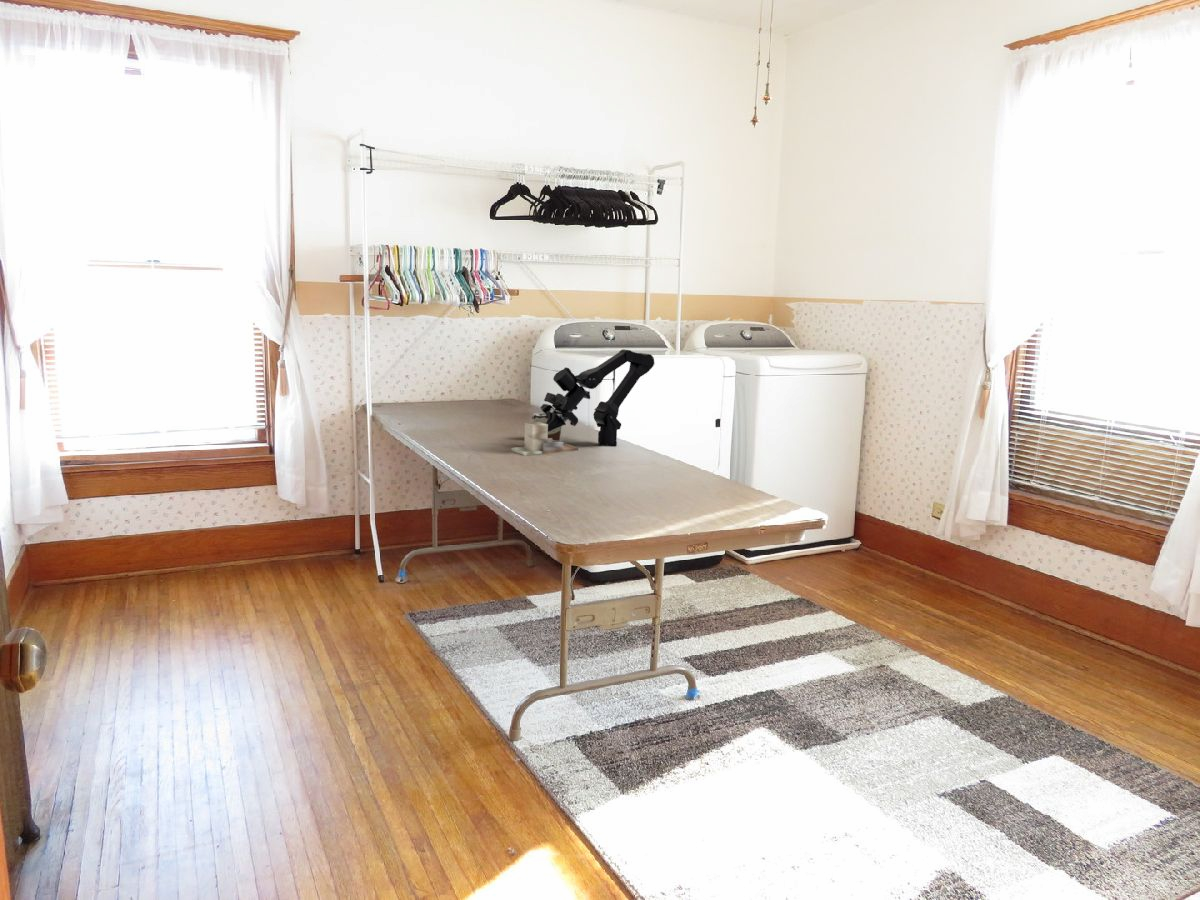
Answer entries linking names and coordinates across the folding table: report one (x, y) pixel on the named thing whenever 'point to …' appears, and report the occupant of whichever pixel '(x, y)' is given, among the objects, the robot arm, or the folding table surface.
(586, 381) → the robot arm
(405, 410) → the folding table surface
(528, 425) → the block
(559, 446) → the chute
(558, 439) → the food container
